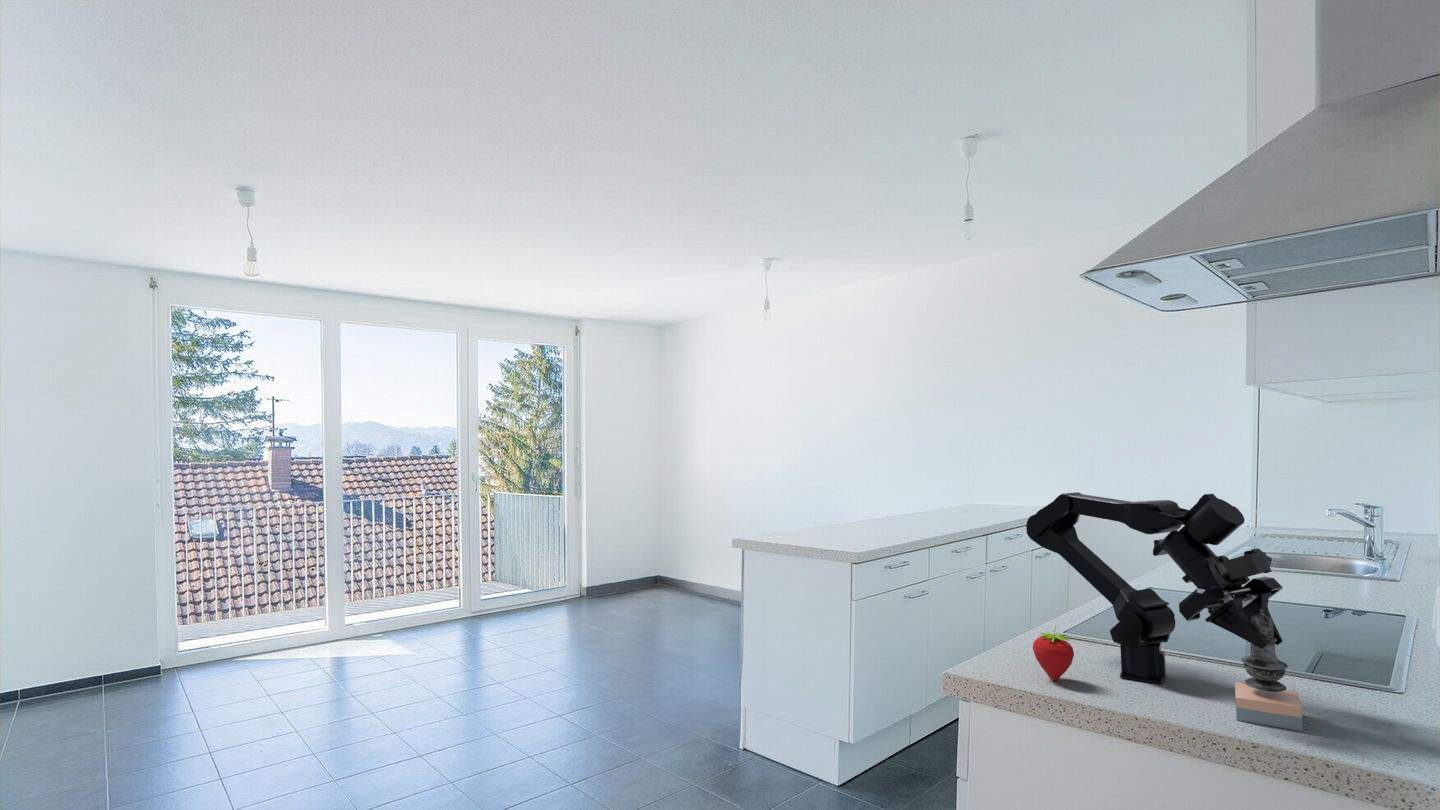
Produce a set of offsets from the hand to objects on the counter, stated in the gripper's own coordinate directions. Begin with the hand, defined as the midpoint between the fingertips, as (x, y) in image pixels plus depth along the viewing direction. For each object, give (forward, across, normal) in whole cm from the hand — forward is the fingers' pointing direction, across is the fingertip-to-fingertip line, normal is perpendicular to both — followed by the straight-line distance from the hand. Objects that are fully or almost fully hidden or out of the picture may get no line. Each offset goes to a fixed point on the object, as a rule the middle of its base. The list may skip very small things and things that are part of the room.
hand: (1272, 645), depth 112 cm
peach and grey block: (+7, 0, +9) cm, 11 cm away
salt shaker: (+4, 0, +6) cm, 7 cm away
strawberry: (-11, -15, +28) cm, 34 cm away
